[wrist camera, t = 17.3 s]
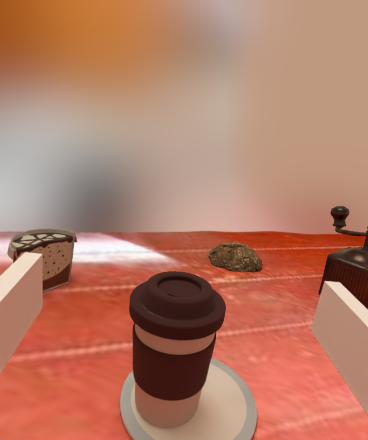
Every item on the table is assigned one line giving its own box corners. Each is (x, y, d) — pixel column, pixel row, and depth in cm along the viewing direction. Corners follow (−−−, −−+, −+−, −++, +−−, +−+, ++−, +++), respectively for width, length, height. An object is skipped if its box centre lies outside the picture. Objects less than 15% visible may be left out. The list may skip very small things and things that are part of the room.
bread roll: (245, 252, 91) (248, 235, 89) (267, 273, 79) (271, 253, 78) (201, 252, 87) (203, 234, 86) (217, 274, 76) (221, 253, 74)
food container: (57, 269, 68) (57, 223, 65) (76, 280, 65) (77, 232, 62) (-5, 289, 58) (-8, 236, 56) (13, 303, 55) (11, 247, 52)
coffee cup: (175, 361, 45) (187, 259, 41) (227, 413, 38) (248, 295, 33) (107, 390, 39) (113, 274, 35) (153, 460, 31) (168, 323, 27)
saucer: (107, 466, 31) (108, 459, 31) (129, 352, 47) (129, 347, 46) (273, 474, 32) (275, 468, 32) (240, 360, 48) (241, 355, 47)
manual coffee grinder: (388, 303, 70) (414, 222, 65) (367, 318, 63) (394, 229, 58) (319, 273, 81) (337, 203, 76) (295, 284, 74) (313, 206, 69)
